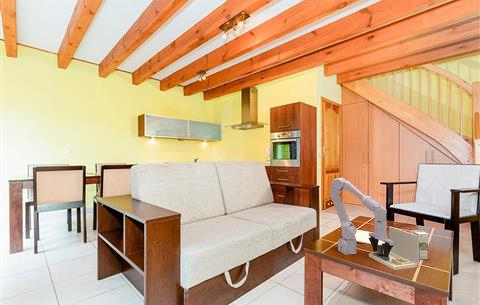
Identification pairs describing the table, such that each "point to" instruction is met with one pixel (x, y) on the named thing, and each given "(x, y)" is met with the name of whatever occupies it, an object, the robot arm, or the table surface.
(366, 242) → the plate
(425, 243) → the syrup box
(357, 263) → the table surface
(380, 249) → the rod
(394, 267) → the equipment case
